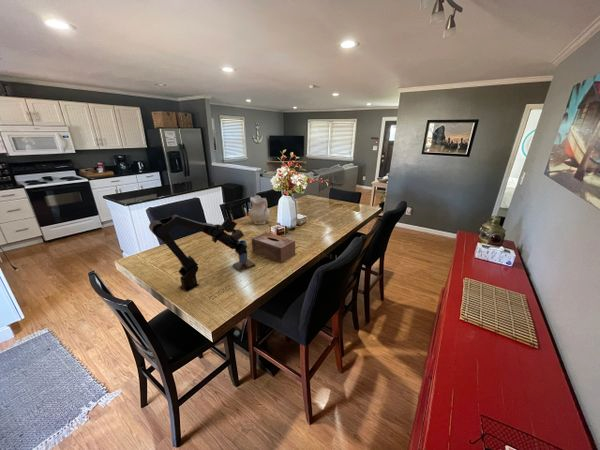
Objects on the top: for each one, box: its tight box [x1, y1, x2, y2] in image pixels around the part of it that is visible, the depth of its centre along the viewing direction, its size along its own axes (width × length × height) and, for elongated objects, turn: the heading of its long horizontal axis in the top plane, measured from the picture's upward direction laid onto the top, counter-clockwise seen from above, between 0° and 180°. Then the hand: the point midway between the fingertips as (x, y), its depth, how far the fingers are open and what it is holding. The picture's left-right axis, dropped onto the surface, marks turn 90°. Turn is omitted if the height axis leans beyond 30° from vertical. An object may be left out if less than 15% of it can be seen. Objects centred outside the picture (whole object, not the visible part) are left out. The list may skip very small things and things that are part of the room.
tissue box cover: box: [250, 231, 296, 263], centre depth 159 cm, size 26×14×10 cm, turn 54°
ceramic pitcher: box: [247, 194, 271, 225], centre depth 215 cm, size 22×20×25 cm
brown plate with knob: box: [232, 259, 256, 272], centre depth 144 cm, size 10×9×4 cm
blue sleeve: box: [237, 239, 249, 263], centre depth 141 cm, size 5×5×13 cm
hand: (244, 251), depth 142 cm, fingers closed on blue sleeve, 5 cm apart
